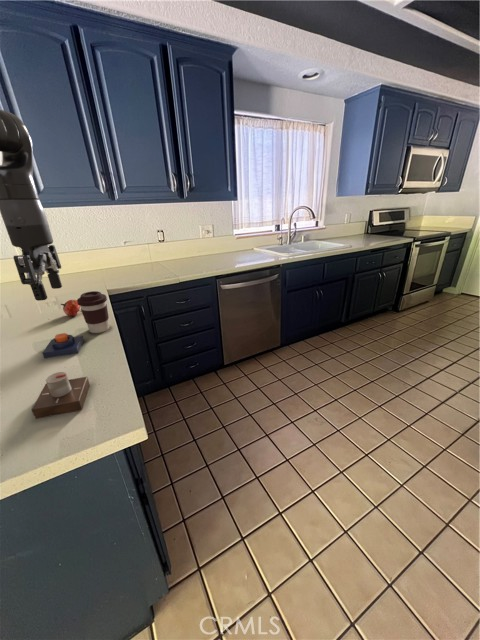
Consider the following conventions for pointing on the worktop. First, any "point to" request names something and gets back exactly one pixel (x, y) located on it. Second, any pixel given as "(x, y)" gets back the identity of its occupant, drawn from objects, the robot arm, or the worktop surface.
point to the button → (61, 337)
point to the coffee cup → (94, 311)
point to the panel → (62, 399)
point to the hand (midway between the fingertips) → (50, 293)
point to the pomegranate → (71, 308)
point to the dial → (58, 384)
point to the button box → (63, 347)
